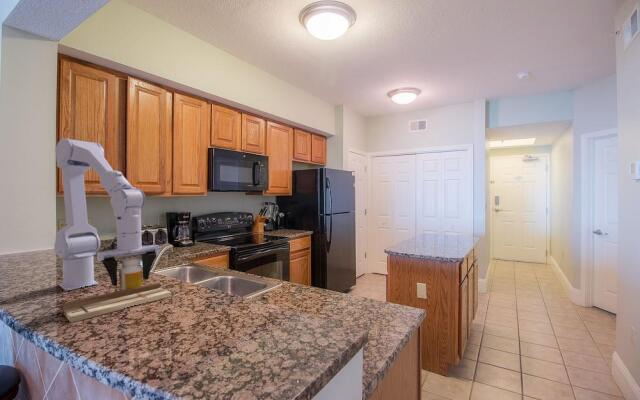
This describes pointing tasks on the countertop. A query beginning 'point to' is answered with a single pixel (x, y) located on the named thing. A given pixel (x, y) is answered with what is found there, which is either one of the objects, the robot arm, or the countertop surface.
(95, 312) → the board
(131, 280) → the supplement bottle
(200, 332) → the countertop surface
